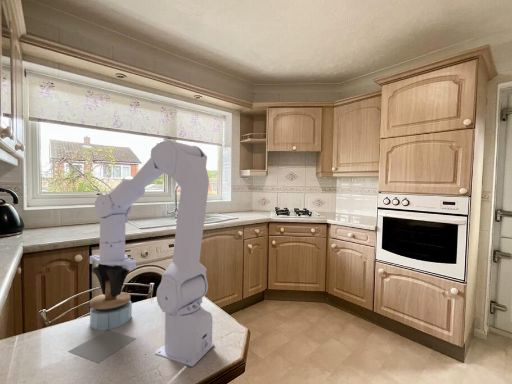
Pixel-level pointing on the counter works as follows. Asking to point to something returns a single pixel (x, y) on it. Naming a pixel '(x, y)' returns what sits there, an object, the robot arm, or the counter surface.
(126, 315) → the bowl
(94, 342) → the mat
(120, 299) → the lid
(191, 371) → the counter surface
